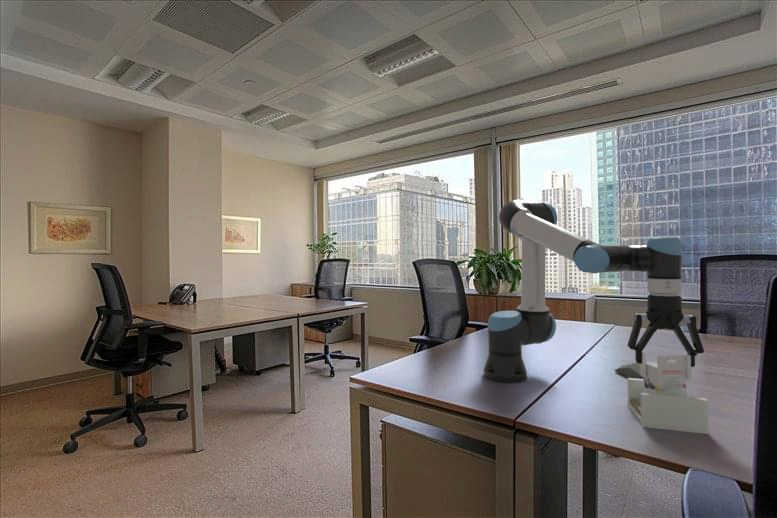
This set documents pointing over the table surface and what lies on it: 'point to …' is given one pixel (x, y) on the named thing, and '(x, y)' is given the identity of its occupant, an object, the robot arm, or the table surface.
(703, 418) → the rack
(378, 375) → the table surface
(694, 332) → the robot arm
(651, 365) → the ink box
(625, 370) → the stone
